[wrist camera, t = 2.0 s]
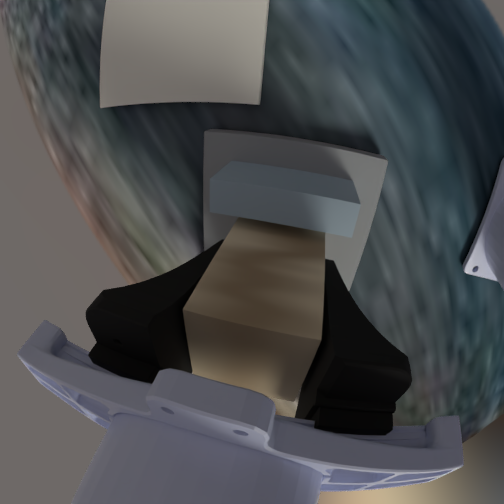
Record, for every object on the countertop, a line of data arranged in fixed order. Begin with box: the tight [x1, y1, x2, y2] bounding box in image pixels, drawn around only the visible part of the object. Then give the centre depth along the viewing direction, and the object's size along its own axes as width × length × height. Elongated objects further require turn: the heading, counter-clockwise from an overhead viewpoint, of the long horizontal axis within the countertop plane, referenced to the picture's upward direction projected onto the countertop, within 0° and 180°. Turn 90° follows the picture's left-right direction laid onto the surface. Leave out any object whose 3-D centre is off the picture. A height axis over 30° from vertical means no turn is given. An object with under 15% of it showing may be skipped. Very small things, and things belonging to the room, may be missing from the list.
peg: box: [183, 217, 325, 402], centre depth 12 cm, size 4×4×8 cm
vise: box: [203, 129, 388, 291], centre depth 14 cm, size 9×11×4 cm
